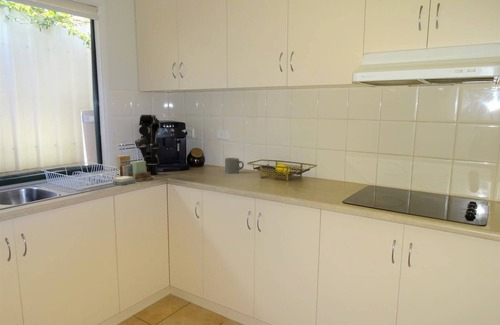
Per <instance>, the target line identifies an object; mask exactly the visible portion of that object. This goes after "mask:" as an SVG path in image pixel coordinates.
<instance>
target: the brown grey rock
mask: <svg viewBox="0 0 500 325" xmlns="http://www.w3.org/2000/svg"><path fill="white" fill-rule="evenodd" d="M122 176H129V177H133V166H132V164H130V165H126V166H120V175H119V177H122ZM133 179H134V180H135V182H139V183H140V182H144V181H149V180H154V177H153V176H152V175H151V172H147V171H146V172H145V173H139V174H135V178H134V177H133Z"/></svg>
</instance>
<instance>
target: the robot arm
mask: <svg viewBox="0 0 500 325" xmlns="http://www.w3.org/2000/svg"><path fill="white" fill-rule="evenodd" d="M138 122H139V123H138V125H139V126H140V127H139V129H138V133H139V134H140V135H141V136H140V138H138V139H137V140H135V141H134V146H135V147H136V148H137V149H139V151H140V153H141V156H142V158H144V161H146V172H151V176H155V175H159V174H160V173H159V172H158V166H160V161H159V160H160V159H159V157H158V155H157V151H158V150H159V148H161V144H160V143H159V142H157V136H158V134H159V133H160V129H161V122H160V120H159V119H158V118H157V116H156V115H155V114H154V115H153V114H141V115H140V117H139V121H138ZM147 148H148V150H147Z"/></svg>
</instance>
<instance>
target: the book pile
mask: <svg viewBox="0 0 500 325" xmlns="http://www.w3.org/2000/svg"><path fill="white" fill-rule="evenodd" d="M112 183H115V184H114V185H118V186H125V185H130V184H131V185H132V184H135V183H136V181H135V180H134V179H133V177H129V176H122V177H120V176H117V177H113V178H112Z"/></svg>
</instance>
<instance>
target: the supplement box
mask: <svg viewBox="0 0 500 325" xmlns="http://www.w3.org/2000/svg"><path fill="white" fill-rule="evenodd" d="M115 162H116V172H117V171H119V170H120V166H126V165H131V155H130V154H124V155H123V154H122V155H116V156H115Z"/></svg>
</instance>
